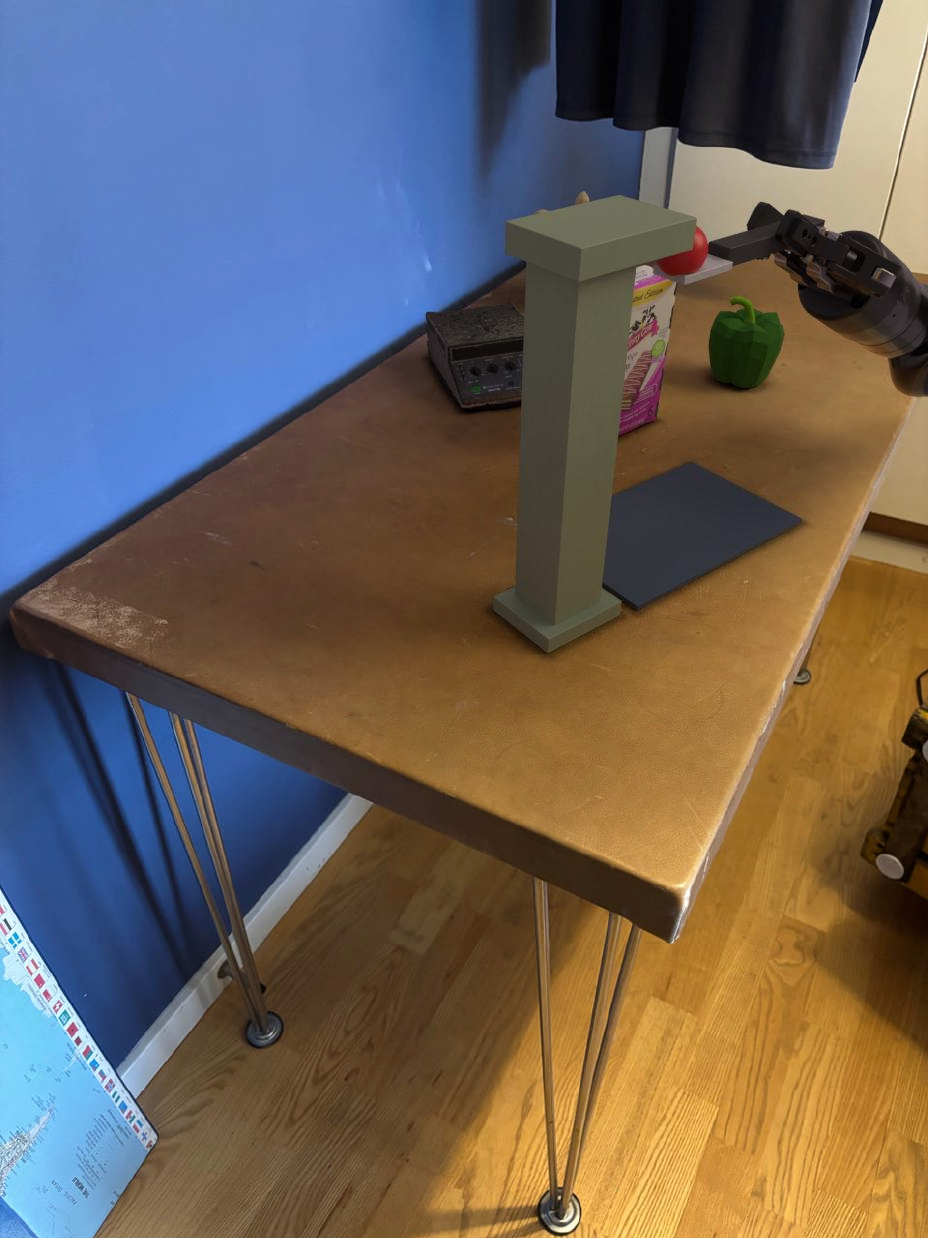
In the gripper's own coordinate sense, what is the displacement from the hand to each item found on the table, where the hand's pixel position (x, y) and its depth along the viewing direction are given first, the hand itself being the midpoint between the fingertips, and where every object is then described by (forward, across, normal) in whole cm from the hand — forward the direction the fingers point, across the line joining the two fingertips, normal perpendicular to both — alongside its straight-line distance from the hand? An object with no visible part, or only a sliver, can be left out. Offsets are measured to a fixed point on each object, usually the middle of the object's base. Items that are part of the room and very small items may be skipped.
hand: (770, 219), depth 67 cm
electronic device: (-18, +40, -22) cm, 49 cm away
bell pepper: (-39, +21, -10) cm, 45 cm away
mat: (-12, +3, -26) cm, 28 cm away
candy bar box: (-21, +21, -21) cm, 36 cm away
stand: (+1, 0, -33) cm, 33 cm away
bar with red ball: (+1, 0, -3) cm, 4 cm away
